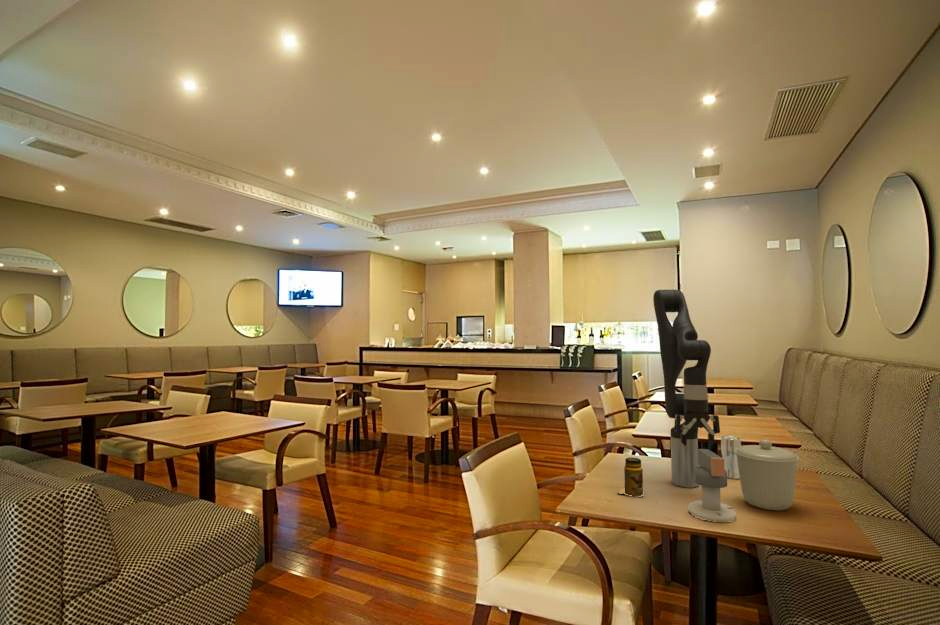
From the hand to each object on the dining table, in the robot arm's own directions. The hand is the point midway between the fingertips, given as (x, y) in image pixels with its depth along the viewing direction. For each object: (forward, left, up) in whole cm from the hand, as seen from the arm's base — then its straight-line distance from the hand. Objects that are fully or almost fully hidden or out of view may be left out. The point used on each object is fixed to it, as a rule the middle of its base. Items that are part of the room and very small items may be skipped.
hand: (697, 445), depth 164 cm
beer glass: (-24, +21, -17) cm, 37 cm away
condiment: (-1, -22, -18) cm, 28 cm away
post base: (+17, -2, -17) cm, 24 cm away
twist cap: (+17, -2, -8) cm, 19 cm away
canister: (+7, +19, -17) cm, 27 cm away
